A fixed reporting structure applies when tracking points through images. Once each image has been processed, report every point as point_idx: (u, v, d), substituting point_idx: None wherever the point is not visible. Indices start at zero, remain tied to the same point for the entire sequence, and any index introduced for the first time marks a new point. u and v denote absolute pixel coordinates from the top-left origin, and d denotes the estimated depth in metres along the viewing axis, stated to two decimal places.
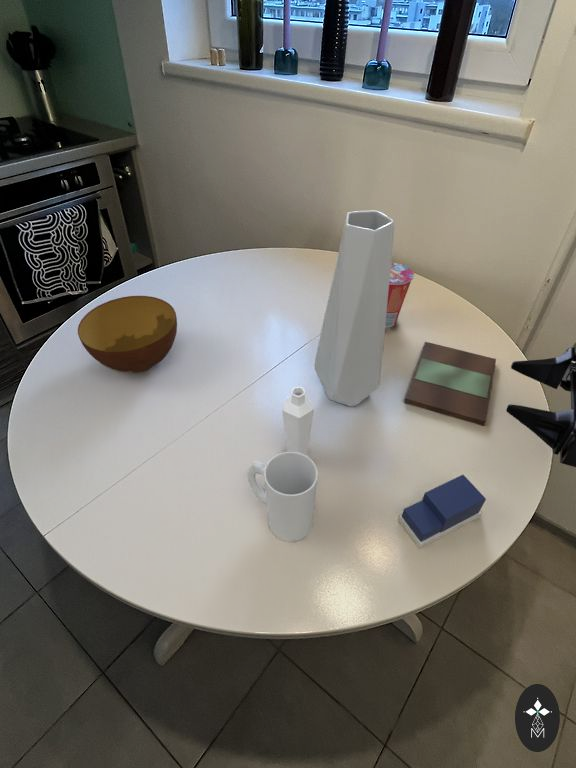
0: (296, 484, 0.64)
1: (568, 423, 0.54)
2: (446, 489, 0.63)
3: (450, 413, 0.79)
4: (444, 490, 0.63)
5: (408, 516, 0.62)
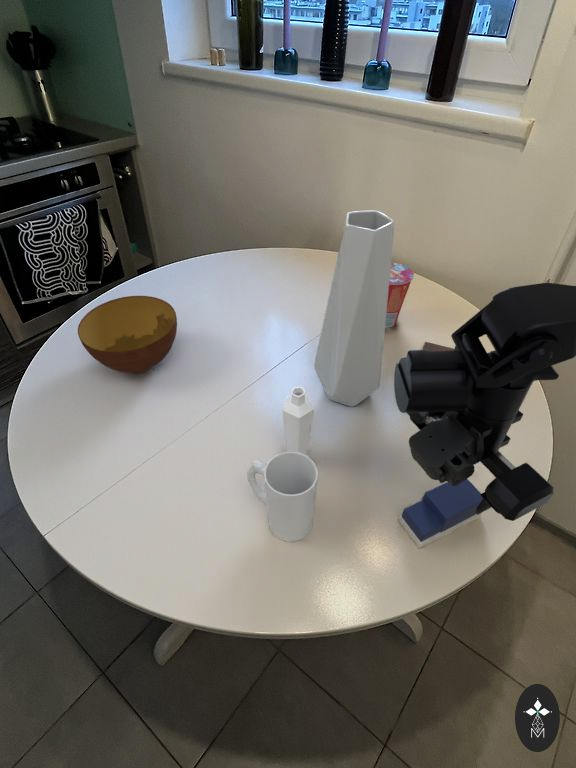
0: (296, 484, 0.64)
1: None
2: (446, 489, 0.63)
3: None
4: (444, 490, 0.63)
5: (408, 516, 0.62)
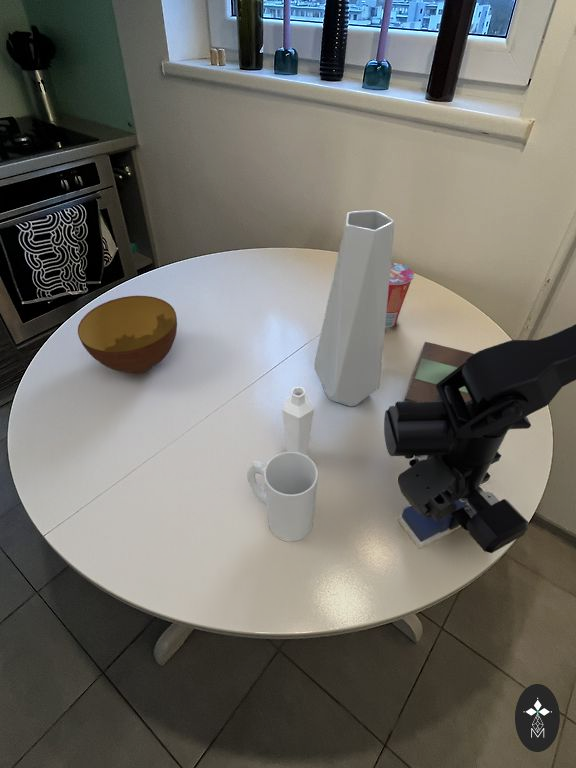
0: (296, 484, 0.64)
1: None
2: None
3: None
4: None
5: (408, 516, 0.62)
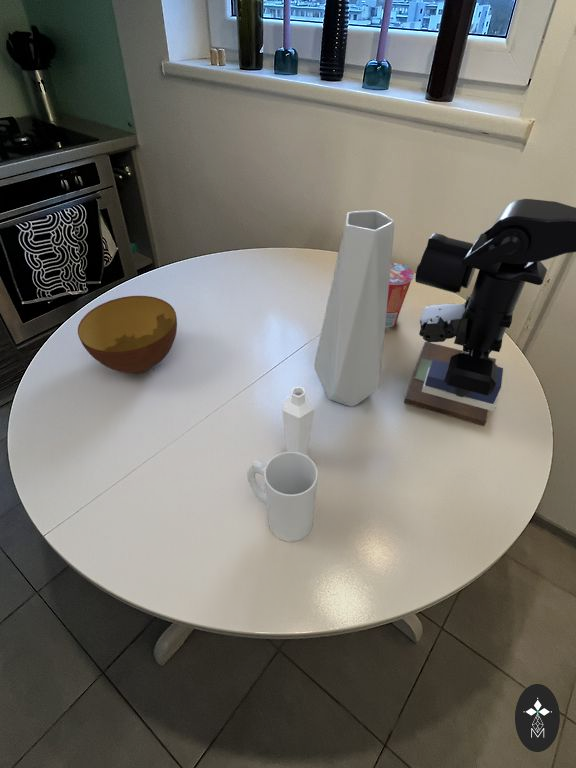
0: (296, 484, 0.64)
1: None
2: None
3: (450, 413, 0.79)
4: None
5: None
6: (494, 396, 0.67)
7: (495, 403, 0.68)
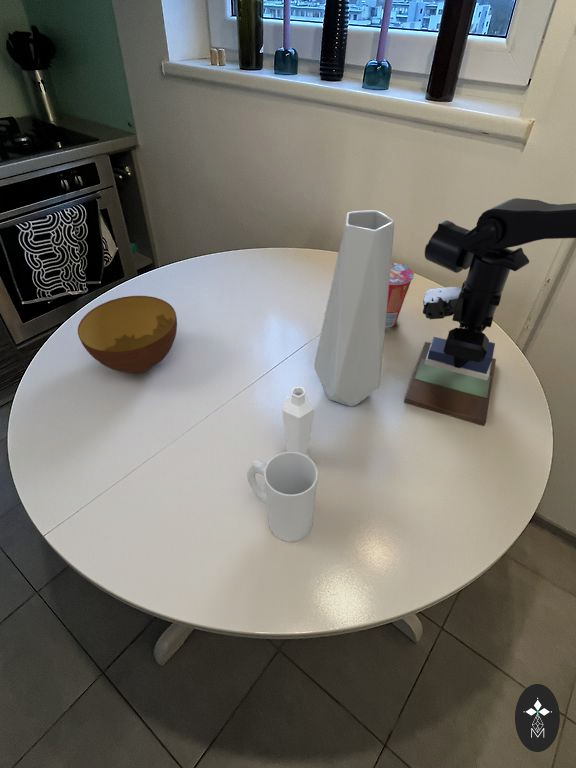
0: (296, 484, 0.64)
1: None
2: None
3: (450, 413, 0.79)
4: None
5: (432, 341, 0.83)
6: (487, 366, 0.78)
7: (488, 373, 0.79)
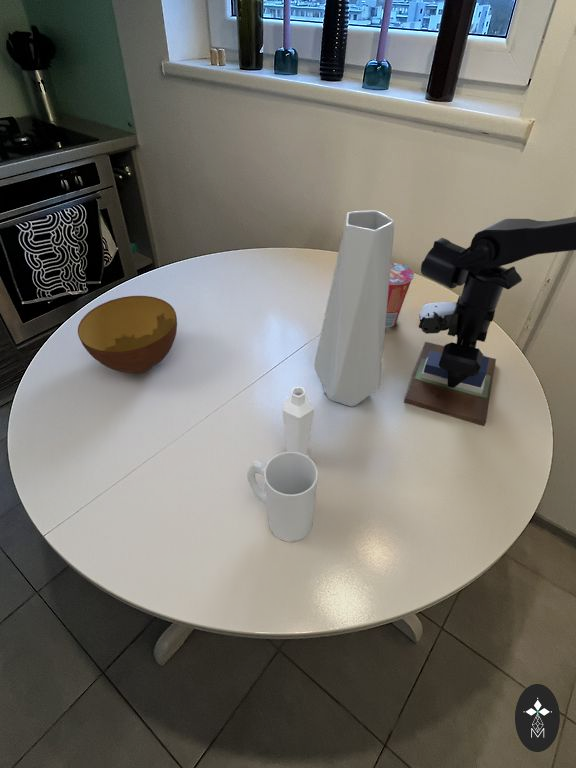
0: (296, 484, 0.64)
1: None
2: None
3: (450, 413, 0.79)
4: None
5: None
6: (481, 381, 0.80)
7: (482, 387, 0.82)
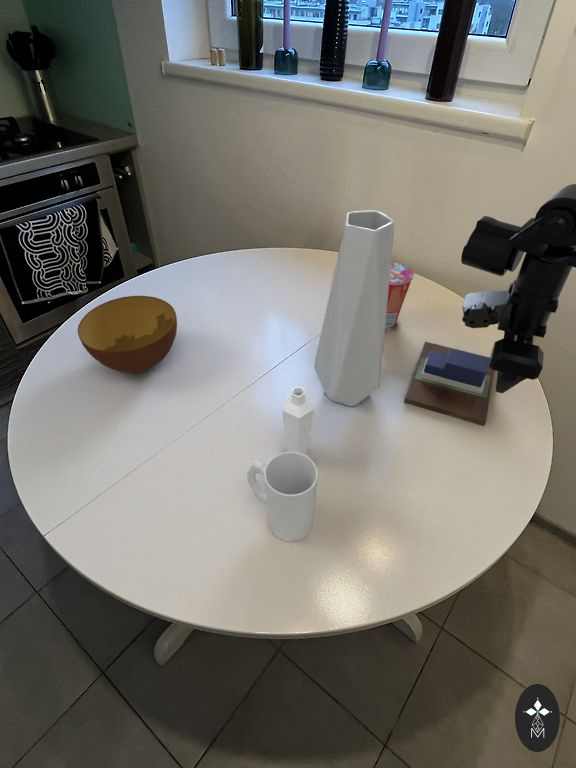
0: (296, 484, 0.64)
1: None
2: (466, 355, 0.82)
3: (450, 413, 0.79)
4: (463, 354, 0.83)
5: None
6: (481, 381, 0.80)
7: (482, 387, 0.82)
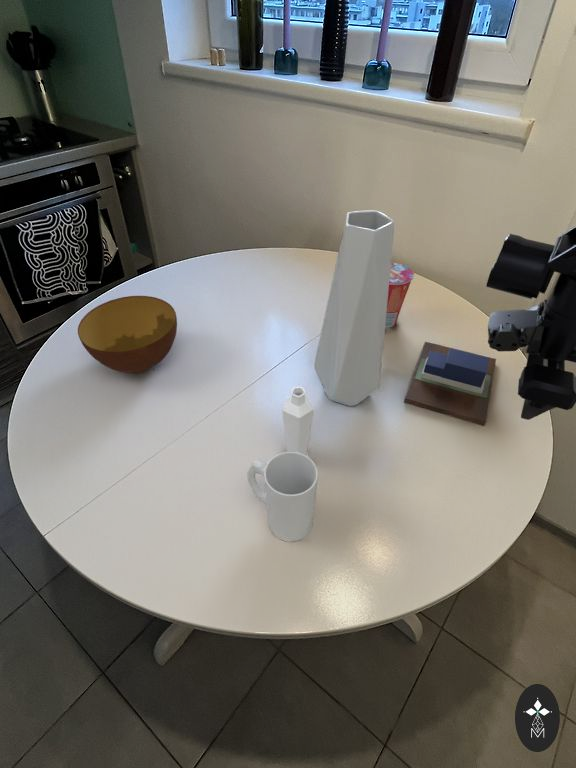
0: (296, 484, 0.64)
1: None
2: (466, 355, 0.82)
3: (450, 413, 0.79)
4: (463, 354, 0.83)
5: None
6: (481, 381, 0.80)
7: (482, 387, 0.82)
